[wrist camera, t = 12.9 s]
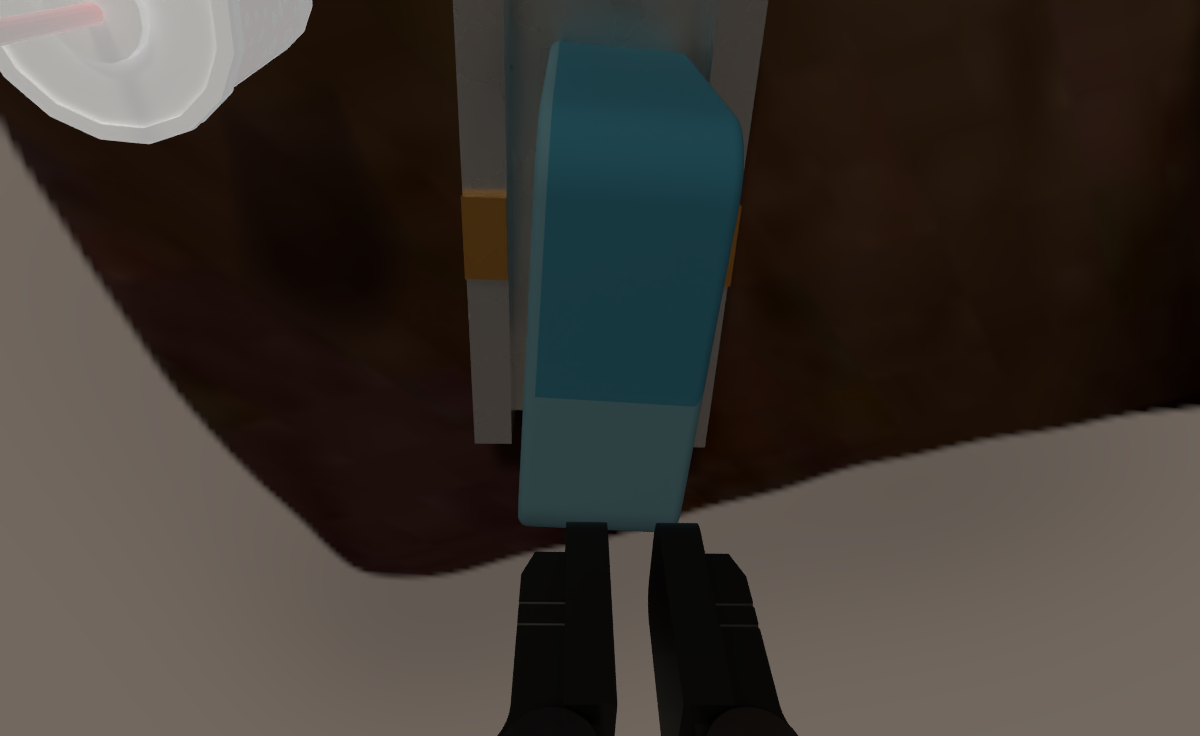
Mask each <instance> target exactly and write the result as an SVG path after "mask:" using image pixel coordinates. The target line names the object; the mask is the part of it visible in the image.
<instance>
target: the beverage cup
mask: <svg viewBox="0 0 1200 736" xmlns="http://www.w3.org/2000/svg"><path fill="white" fill-rule="evenodd" d="M311 9H312V0H0V71H1V73H2V74H3V76H4V77H5V78H6V79H7V80H8V81H9V82H11V83H12V84H13V85H14V86H15V87H16V88H18V89H19V90H20V91H21V92H22V93H23V94H25V95H26V96H27V97H28V98H29V99H30V100H32V101H33V102H34V103H35V104H36V105H37V106H39V107H40V108H41V109H42V110H43V111H44V112H45V113H47V114H48V115H49V116H50V117H53V118H55V119H57V120H59V121H61V122H64V123H66V124H68V125H70V126H72V127H74V128H77V129H79V130H81V131H83V132H85V133H88V134H90V135H92V136H94V137H96V138H99V139H102V140H112V141H123V142H133V143H143V144H151V143H155V142H158V141H161V140H164V139H167V138H170V137H173V136H176V135H179V134H182V133H185V132H188V131H191V130H193V129H195V128H197V126H198V125H199V124H200V123H203V122H204V121H205V120H206V119H207V118H208V117H209V116H210V115H211V114H212V113H213V112H214V111H215V110H216V109H217V108H218V107H219V106H220V105H221V104H222V103H223V102H224V101H225V100H226V98H227V97H228V96H229V95H230V94H231V93H232V92H233V89H234V87H235V86H236V85H238V84H239V83H241V82H242V81H243V80H245V79H246V78H247V77H249V76H250V75H252V74H253V73H254V72H256V71H257V70H259V69H260V68H261V67H263V66H264V65H266V64H267V63H268V62H270V61H271V60H272V59H274V58H275V57H277V56H278V55H279V54H281V53H282V52H284V51H285V50H286V49H288V48H289V47H290V46H291V44H292V43H293V42H294V41H295V40H296V39H297V38H298V37H299V36H300V35H301V34H302V33H303V32H304V31H305V27H306V24H307V21H308V18H309V15H310V12H311Z"/></svg>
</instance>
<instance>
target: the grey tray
mask: <svg viewBox="0 0 1200 736" xmlns="http://www.w3.org/2000/svg"><path fill="white" fill-rule="evenodd" d="M767 6H768V0H453V12H454V32H455V52H456V72H457V92H458V113H459V133H460V153H461V173H462V196H461V207H462V226H463V246H464V265H465V279H467V293H468V313H469V333H470V353H471V373H472V393H473V413H474V433H475V443H493V444H512V437H513V429H514V420H515V412H516V410H523V397H524V376H525V355H526V334H527V313H528V292H529V271H530V250H531V229H532V208H533V187H534V168H535V152H536V138H537V125H538V115H539V107H540V102H541V96H542V91H543V85H544V80H545V75H546V69H547V64H548V59H549V53H550V48H551V46H552V44H553V43H555V42H558V41H560V42H571V43H582V44H592V45H603V46H613V47H624V48H634V49H645V50H656V51H666V52H677V53H683V54H685V55H686V56H687V57H688V58H689V59H690V60H691V62H692V63H693V64H694V65H695V67H696V68H697V69H698V70H699V71H700V73H701V74H702V75H703V76H704V78H705V79H706V80H707V81H708V83H709V84H710V85H711V86H712V88H713V89H714V90H715V91H716V92H717V94H718V95H719V96H720V97H721V99H722V100H723V101H724V102H725V104H726V105H727V106H728V107H729V108H730V110H731V111H732V112H733V113H734V115H735V116H736V117H737V119H738V120H739V122H740V125H741V129H742V133H743V142H744V168H745V161H746V153H747V146H748V139H749V132H750V125H751V118H752V111H753V104H754V97H755V90H756V83H757V76H758V69H759V62H760V55H761V48H762V41H763V34H764V27H765V20H766V13H767ZM743 175H744V173H743ZM741 208H742V206H741V204H740V205H739V211H738V216H737V221H736V226H735V232H734V237H733V242H732V247H731V253H730V258H729V263H728V268H727V274H726V279H725V284H724V289H723V294H722V300H721V305H720V310H719V315H718V321H717V326H716V331H715V336H714V342H713V347H712V352H711V357H710V363H709V368H708V373H707V378H706V384H705V389H704V394H703V399H702V404H701V410H700V415H699V420H698V425H697V431H696V436H695V441H694V446H693V447H705V442H706V435H707V428H708V421H709V414H710V407H711V400H712V393H713V386H714V379H715V372H716V365H717V358H718V351H719V344H720V337H721V330H722V323H723V316H724V308H725V301H726V294H727V287H730V284H731V277H732V271H733V264H734V257H735V250H736V243H737V236H738V229H739V222H740V215H741Z"/></svg>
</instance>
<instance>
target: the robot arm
mask: <svg viewBox="0 0 1200 736" xmlns="http://www.w3.org/2000/svg"><path fill="white" fill-rule="evenodd" d="M609 563H610V562H609V543H608V526H607V522H566V546H565V552H535V553H534V555H533V556H532V558H531V559H530V561H529V563H528V564H527V566H526V567H525V569H524V571H523V572H522V574H521V585H520V596H519V608H518V622H517V623H518V624H517V634H516V645H515V658H514V670H513V683H512V695H511V706H510V712H509V715H508V718H507V721H506V723H505V725H504V727H503V729H502V730H501V732H500V733H499V734H498V736H615V735H614V734H615V724H616V713H617V692H616V675H615V674H616V673H615V654H614V636H613V617H612V599H611V580H610V564H609ZM648 613H649V626H650V635H651V644H652V654H653V664H654V672H655V683H656V692H657V702H658V711H659V721H660V730H661V736H798V735H797V734H796V732H795V731H794V730H793V728H792V727H790V725H789V724H788V723H787V721H786V719H785V717H784V715H783V714H782V710H781V708H780V705H779V701H778V697H777V693H776V689H775V685H774V682H773V678H772V674H771V670H770V666H769V662H768V658H767V655H766V651H765V647H764V643H763V639H762V635H761V631H760V629H759V628H758V621H757V616H756V612H755V608H754V607H753V601H752V597H751V593H750V589H749V586H748V582H747V578H746V576H745V574H744V573H743V572H742V571H741V569H740V568H739V567H738V565H737V564H736V563H735V562H734V560H733V559H732V558H731V557H730V555H729V554H705V551H704V546H703V541H702V536H701V532H700V528H699V525H698V524H697V523H656V525H655V530H654V539H653V549H652V558H651V568H650V576H649V588H648Z"/></svg>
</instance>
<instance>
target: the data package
mask: <svg viewBox="0 0 1200 736" xmlns="http://www.w3.org/2000/svg"><path fill="white" fill-rule="evenodd" d="M743 173H744V142H743V133H742V129H741V125H740V122H739V120H738V119H737V117H736V116H735V115H734V113H733V112H732V111H731V110H730V108H729V107H728V106H727V105H726V104H725V102H724V101H723V100H722V99H721V97H720V96H719V95H718V94H717V92H716V91H715V90H714V89H713V88H712V86H711V85H710V84H709V83H708V81H707V80H706V79H705V78H704V76H703V75H702V74H701V73H700V71H699V70H698V69H697V68H696V67H695V65H694V64H693V63H692V62H691V60H690V59H689V58H688V57H687V56H686V55H685V54H683V53H677V52H666V51H656V50H645V49H634V48H624V47H613V46H603V45H592V44H582V43H571V42H560V41H558V42H555V43H553V44H552V46H551V48H550V53H549V59H548V64H547V69H546V75H545V80H544V85H543V91H542V96H541V102H540V107H539V115H538V125H537V138H536V152H535V168H534V187H533V208H532V229H531V250H530V271H529V292H528V313H527V334H526V355H525V376H524V397H523V418H522V439H521V460H520V481H519V503H518V517H519V520H520V522H521V523H522V524H523V525H526V526H540V527H561V528H566V522H607V526H608V530H623V531H643V532H654V530H655V525H656V523H678V520H679V517H680V514H681V509H682V504H683V499H684V494H685V488H686V483H687V478H688V473H689V467H690V462H691V457H692V452H693V446H694V441H695V436H696V431H697V425H698V420H699V415H700V410H701V404H702V399H703V394H704V389H705V384H706V378H707V373H708V368H709V363H710V357H711V352H712V347H713V342H714V336H715V331H716V326H717V321H718V315H719V310H720V305H721V300H722V294H723V289H724V284H725V279H726V274H727V268H728V263H729V258H730V253H731V247H732V242H733V237H734V232H735V226H736V221H737V216H738V211H739V205H740V199H741V192H742V184H743Z"/></svg>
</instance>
